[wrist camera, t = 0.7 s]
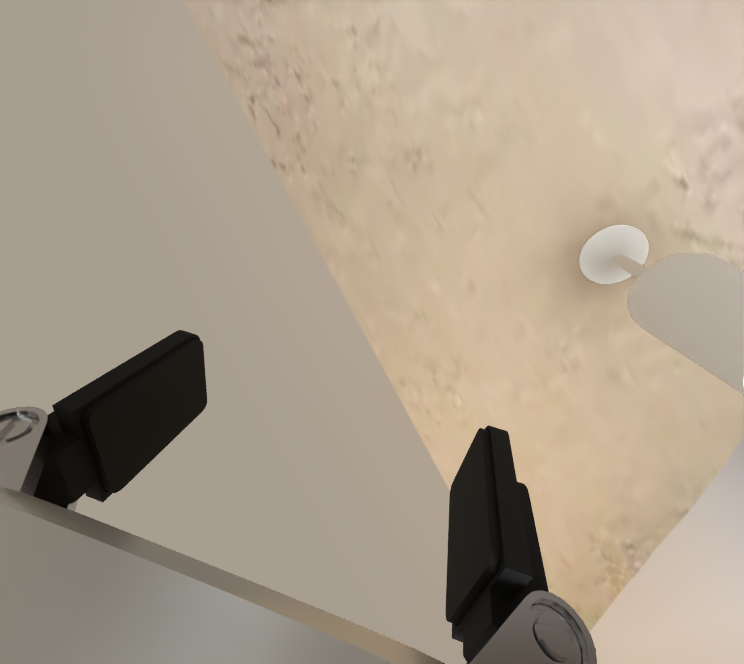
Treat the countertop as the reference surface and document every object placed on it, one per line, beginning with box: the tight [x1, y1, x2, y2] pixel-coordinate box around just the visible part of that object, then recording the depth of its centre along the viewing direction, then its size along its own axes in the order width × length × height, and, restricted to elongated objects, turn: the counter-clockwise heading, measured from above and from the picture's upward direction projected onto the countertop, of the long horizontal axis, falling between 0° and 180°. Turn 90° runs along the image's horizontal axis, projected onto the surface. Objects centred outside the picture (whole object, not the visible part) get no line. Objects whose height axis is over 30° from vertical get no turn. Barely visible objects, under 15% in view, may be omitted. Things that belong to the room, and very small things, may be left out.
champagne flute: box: [579, 225, 744, 395], centre depth 27 cm, size 7×7×24 cm
